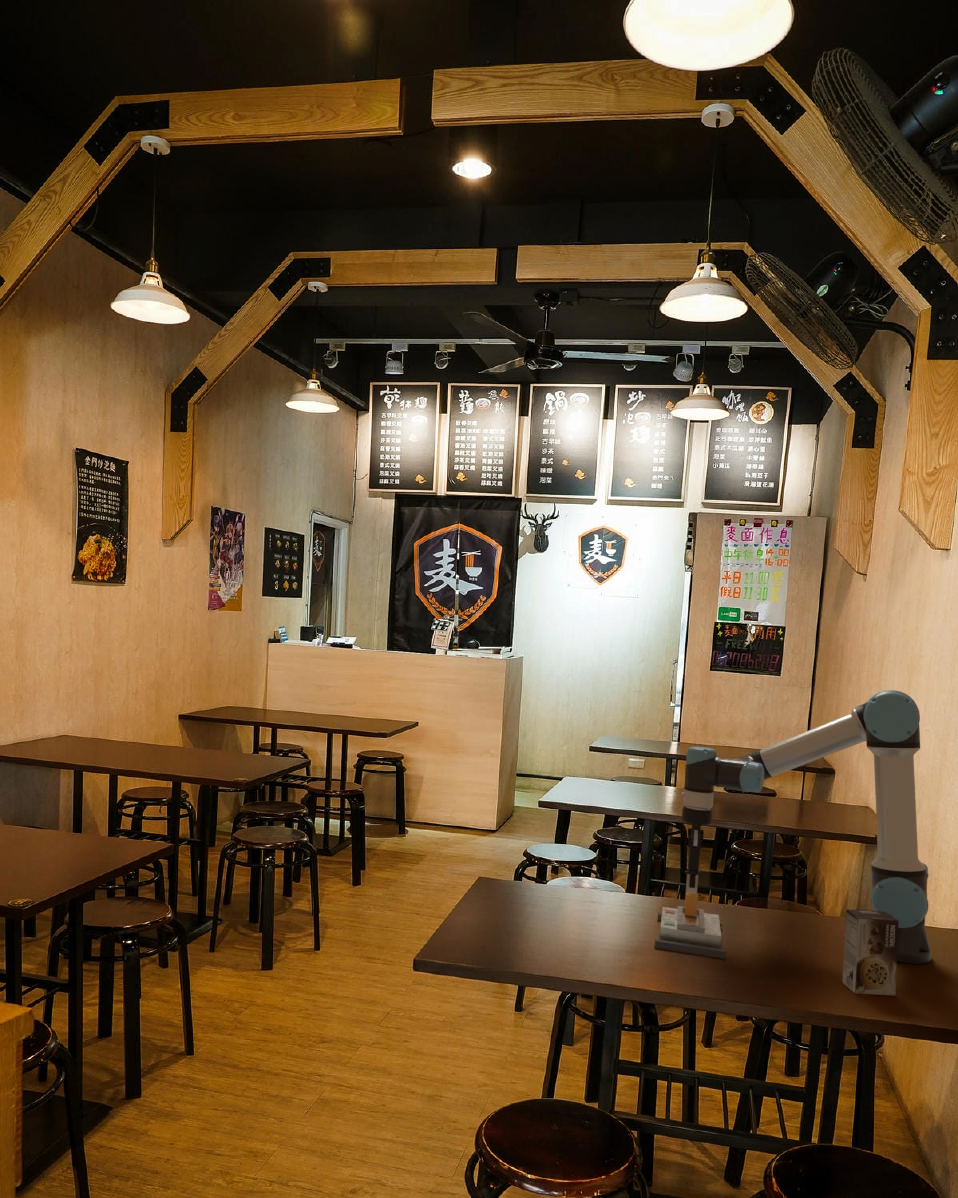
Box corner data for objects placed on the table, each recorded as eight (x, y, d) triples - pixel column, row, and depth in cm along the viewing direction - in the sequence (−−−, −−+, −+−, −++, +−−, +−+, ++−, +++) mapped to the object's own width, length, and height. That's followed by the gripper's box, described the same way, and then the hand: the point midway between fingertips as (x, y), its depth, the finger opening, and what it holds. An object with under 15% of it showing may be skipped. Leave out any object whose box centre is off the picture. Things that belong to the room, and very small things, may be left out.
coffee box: (881, 985, 197) (885, 911, 198) (896, 997, 191) (900, 920, 191) (840, 982, 197) (845, 908, 197) (854, 994, 190) (859, 917, 191)
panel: (717, 931, 226) (718, 911, 227) (720, 953, 209) (721, 932, 209) (661, 922, 230) (662, 903, 230) (659, 944, 212) (660, 923, 212)
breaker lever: (696, 914, 224) (698, 894, 224) (696, 917, 222) (698, 896, 223) (684, 913, 225) (685, 892, 225) (684, 915, 223) (685, 895, 223)
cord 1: (721, 928, 229) (721, 922, 229) (721, 930, 227) (721, 923, 227) (657, 919, 233) (658, 912, 233) (657, 920, 231) (657, 914, 231)
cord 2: (724, 956, 207) (725, 949, 207) (725, 959, 206) (725, 952, 206) (654, 945, 211) (655, 939, 211) (654, 948, 209) (655, 941, 209)
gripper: (682, 801, 239) (676, 890, 238) (682, 809, 226) (675, 903, 225) (711, 805, 237) (705, 895, 236) (713, 813, 224) (706, 908, 223)
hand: (690, 899), depth 230 cm, fingers closed
